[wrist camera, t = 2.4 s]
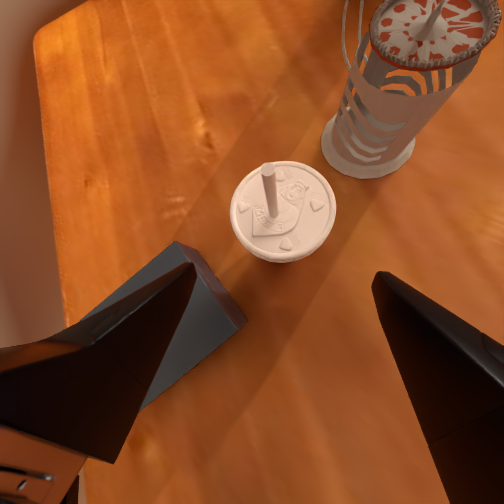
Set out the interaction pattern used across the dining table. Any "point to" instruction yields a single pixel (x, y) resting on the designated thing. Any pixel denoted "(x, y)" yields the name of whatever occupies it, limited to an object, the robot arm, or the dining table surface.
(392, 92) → the french press
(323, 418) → the dining table surface
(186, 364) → the grey footed stand
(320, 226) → the smoothie
